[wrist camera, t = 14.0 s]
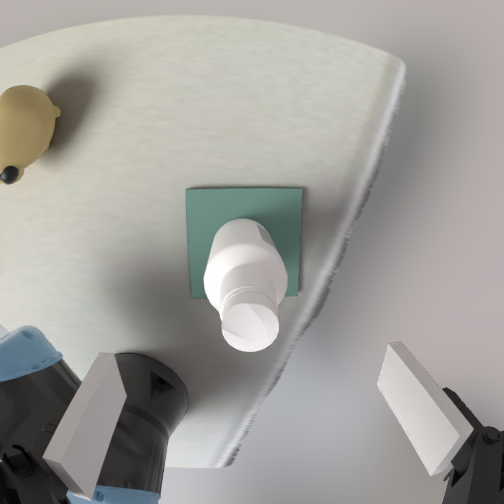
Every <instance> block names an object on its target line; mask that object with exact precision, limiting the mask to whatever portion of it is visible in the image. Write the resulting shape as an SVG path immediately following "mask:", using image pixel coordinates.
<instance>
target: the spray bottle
mask: <svg viewBox="0 0 504 504" xmlns="http://www.w3.org/2000/svg"><path fill="white" fill-rule="evenodd" d="M287 279H288V274H287V271H286V268H285V265H284V263H283V261H282V259H281V257H280V254H279V252H278V250H277V248H276V246H275V244H274V242H273V241H272V239H271V237H270V235H269V233H268V232H267V230H266V229H265V228H264V227H263V226H262V225H261V224H259V223H258V222H256V221H254V220H250V219H247V218H243V219H234V220H232V221H229V222H227V223H226V224H224V225H223V226H222V227H221V228H220V229H219V230H218V232H217V233H216V235H215V237H214V240H213V244H212V248H211V252H210V255H209V259H208V263H207V267H206V271H205V275H204V288H205V292H206V294H207V297H208V299H209V301H210V303H211V304H212V305H213V306H214V307H215V308H216V309H217V310H218V312H220V318H221V320H222V334H223V336H224V338H225V340H226V341H227V342H228V343H229V344H230V345H231V346H232V347H234V348H236V349H238V350H241V351H245V352H255V351H259V350H262V349H265V348H266V347H268V346H269V345H271V344H272V343H273V341H274V340H275V339H276V338H277V335H278V332H279V320H278V305H279V304H280V303H281V301H282V300H283V298H284V295H285V292H286V290H287Z"/></svg>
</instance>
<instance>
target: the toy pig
mask: <svg viewBox="0 0 504 504" xmlns="http://www.w3.org/2000/svg"><path fill="white" fill-rule="evenodd" d="M60 114H61V110H60V108H59V107H57V106H54V105H53V104H52V102H51V100H50V98H49V97H48V96H47V95H46V94H45V93H44V92H43V91H42V90H40V89H38V88H36V87H33V86H27V85H20V86H14V87H11V88H9V89H7V90H6V91H5V92H4V93H3V94H2V95H1V96H0V183H1V184H13V183H15V182H17V181H19V180H20V179H21V177H22V176H23V173H24V169H25V168H26V167H28V166H29V165H30V164H32V163H33V162H35V161H36V160H37V159H38V158H39V157H40V156H41V155H42V154H43V153H44V151H46V150H48V148H49V146H50V140H51V138H52V136H53V132H54V128H55V118H58V117H59V116H60Z"/></svg>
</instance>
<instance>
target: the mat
mask: <svg viewBox="0 0 504 504" xmlns="http://www.w3.org/2000/svg"><path fill="white" fill-rule="evenodd" d="M186 216H187V238H188V255H189V271H190V284H191V297H192V298H208V297H207V294H206V292H205V288H204V275H205V271H206V267H207V263H208V259H209V255H210V252H211V248H212V244H213V240H214V237H215V235H216V233H217V232H218V230H219V229H220V228H221V227H222V226H223V225H224V224H226V223H227V222H229V221H232V220H234V219H243V218H247V219H250V220H254V221H256V222H258V223H259V224H261V225H262V226H263V227H264V228H265V229H266V230H267V232H268V233H269V235H270V237H271V239H272V241H273V242H274V244H275V246H276V248H277V250H278V252H279V254H280V257H281V259H282V261H283V263H284V265H285V268H286V271H287V274H288V279H287V290H286V292H285V295H284V296H298V281H299V263H300V242H301V217H302V189H301V188H210V189H186Z"/></svg>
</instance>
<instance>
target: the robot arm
mask: <svg viewBox="0 0 504 504" xmlns="http://www.w3.org/2000/svg"><path fill="white" fill-rule="evenodd" d="M62 357H63V355H62V354H61V353H60V352H58V351H57V350H56V349H55V348H54V347H53V346H52V344H51V343H50V342H49V341H48V339H47V338H46V337H45V336H44V334H43V333H42V332H41V331H40V330H39V329H38V328H36V327H33V326H23V327H20V328H18V329H16V330H14V331H12V332H10V333H9V334H7V335H5V336H3V337H2V338H0V504H158V500H159V499H160V497H161V495H160V494H161V486H162V479H163V472H164V466H165V459H166V453H167V446H168V440H169V437H170V436H171V435H172V433H173V432H174V430H175V429H176V427H177V426H178V425H179V423H180V422H181V420H182V419H183V417H184V415H185V412H186V407H187V401H188V396H187V391H186V388H185V386H184V384H183V383H182V381H181V380H180V378H179V377H178V376H177V375H176V374H175V373H174V372H173V371H172V370H170V369H169V368H168V367H166V366H165V365H163V364H162V363H160V362H158V361H156V360H154V359H151V358H149V357H146V356H142V355H138V354H128V353H125V354H117V355H114V354H111V353H99V355H98V356H97V358H96V360H95V361H94V363H93V365H92V366H91V368H90V370H89V372H88V373H87V375H86V377H85V378H84V380H83V382H82V381H81V380H80V379H79V378H78V377H77V375H76V374H75V373H74V372H73V371H72V369H71V368H70V367H69V366H68V365H67V363H66V362H65V361H64V360H63V358H62ZM377 386H378V388H379V390H380V391H381V393H382V394H383V396H384V398H385V399H386V401H387V403H388V404H389V406H390V408H391V409H392V411H393V413H394V414H395V416H396V418H397V419H398V421H399V423H400V424H401V426H402V427H403V429H404V431H405V432H406V434H407V436H408V438H409V439H410V441H411V443H412V445H413V446H414V448H415V450H416V451H417V453H418V455H419V457H420V458H421V460H422V462H423V463H424V465H425V467H426V469H427V471H428V472H429V474H430V476H433V475H435V474H437V473H439V472H441V471H444V470H445V469H446V468H447V466H448V465H449V464H450V462H451V463H452V465H453V466H454V467H453V468H452V469H451V470H450V472H449V473H448V474H447V475H446V477H445V478H444V480H443V481H446V480H447V479H448V477H449V476H450V477H449V481H448V485H447V489H446V492H445V496H444V499H443V503H442V504H504V431H501V432H500V431H499V430H497V429H496V428H494V427H490V426H488V427H484V426H482V424H481V423H480V422H479V421H478V420H477V418H476V417H475V416H474V414H473V413H472V412H471V411H470V410H469V408H468V407H466V405H465V404H464V403H463V401H461V399H460V398H459V397H458V395H457V394H456V393H455V392H453V391H452V390H450V389H448V388H447V387H446V388H443V389H441V387H439V385H438V384H437V383H436V381H435V380H434V379H433V378H432V377H431V376H430V374H429V373H428V372H427V371H426V370H425V368H424V367H423V366H422V365H421V364H420V363H419V362H418V360H417V359H416V358H415V357H414V356H413V355H412V353H411V352H410V351H409V350H408V349H407V348H406V347H405V345H404V344H403V343H402V342H401V341H400V342H394V343H389V344H388V347H387V351H386V354H385V358H384V362H383V365H382V369H381V372H380V376H379V379H378V382H377Z"/></svg>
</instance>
